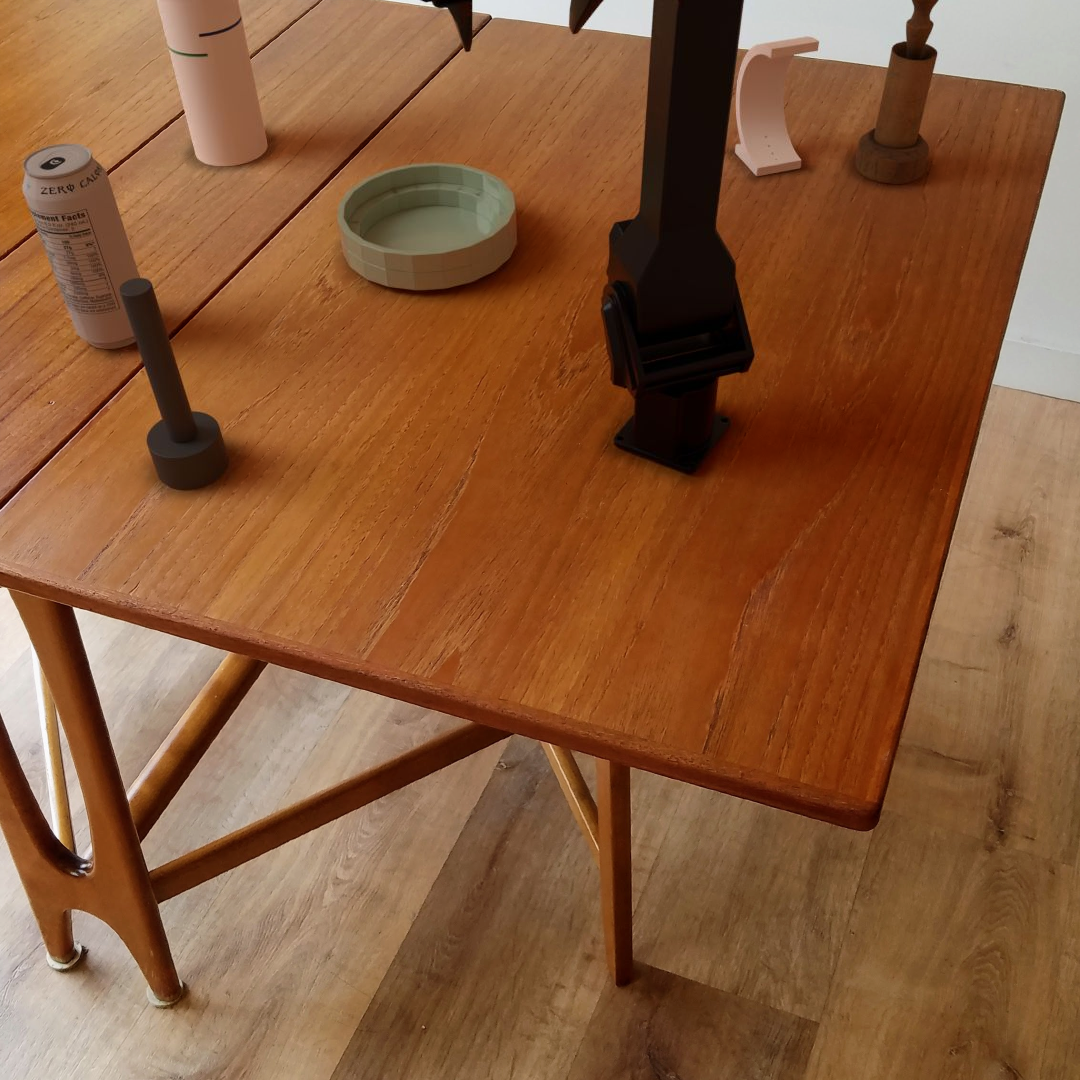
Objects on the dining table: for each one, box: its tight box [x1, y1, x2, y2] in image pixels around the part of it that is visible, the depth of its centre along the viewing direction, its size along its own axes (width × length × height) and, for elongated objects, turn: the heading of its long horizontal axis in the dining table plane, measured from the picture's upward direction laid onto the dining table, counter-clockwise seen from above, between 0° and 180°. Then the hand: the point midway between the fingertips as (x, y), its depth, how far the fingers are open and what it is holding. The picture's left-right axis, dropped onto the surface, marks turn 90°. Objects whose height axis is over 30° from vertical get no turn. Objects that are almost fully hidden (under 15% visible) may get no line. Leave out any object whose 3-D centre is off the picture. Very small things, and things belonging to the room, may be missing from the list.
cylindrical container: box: [156, 0, 269, 167], centre depth 106 cm, size 7×7×25 cm
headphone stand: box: [734, 36, 820, 177], centre depth 107 cm, size 5×6×12 cm
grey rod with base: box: [119, 277, 230, 491], centre depth 77 cm, size 5×5×15 cm
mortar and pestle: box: [854, 0, 940, 185], centre depth 103 cm, size 7×6×18 cm
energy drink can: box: [21, 142, 141, 350], centre depth 89 cm, size 6×6×15 cm
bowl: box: [336, 162, 518, 291], centre depth 100 cm, size 15×15×4 cm
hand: (520, 39), depth 94 cm, fingers open, 9 cm apart
